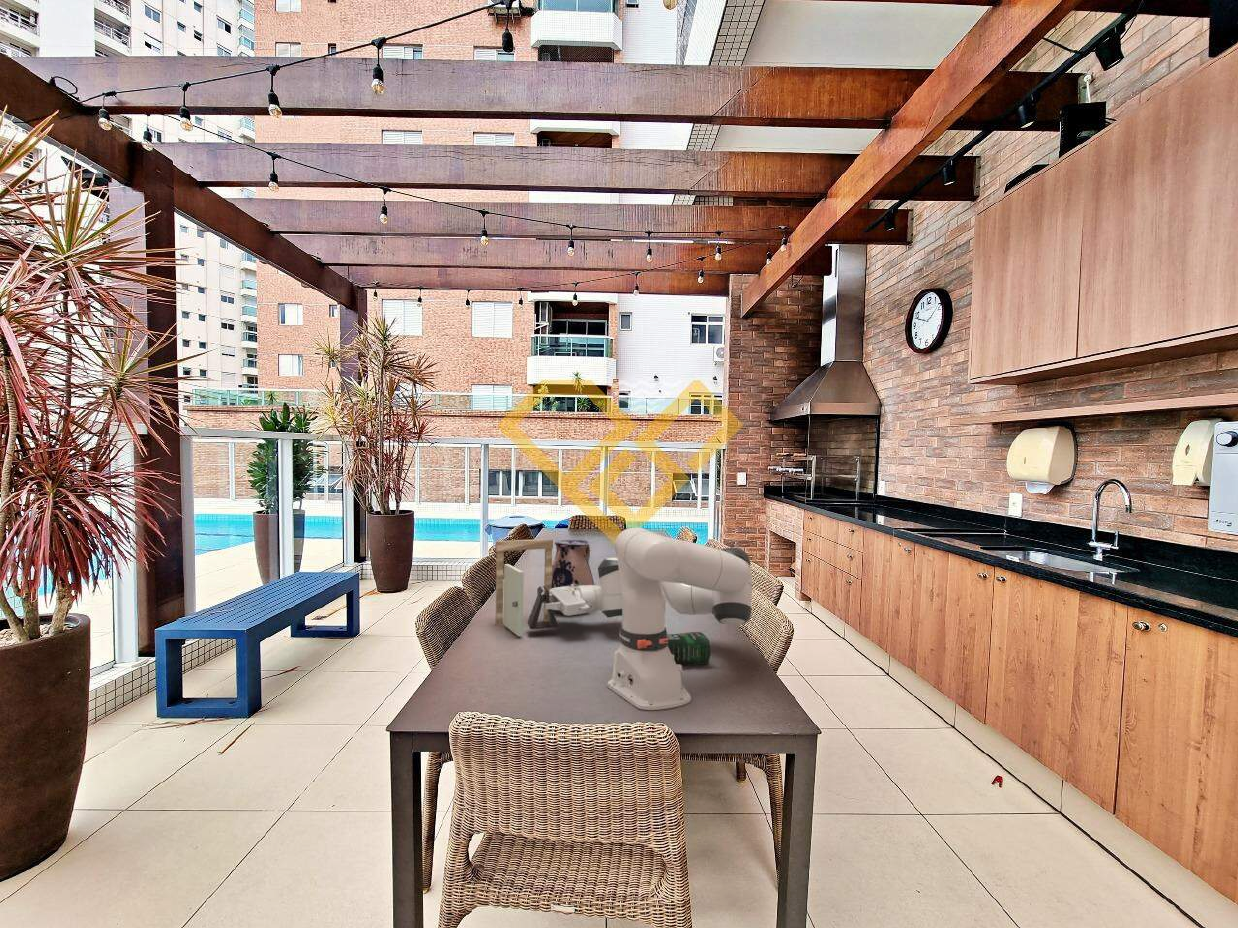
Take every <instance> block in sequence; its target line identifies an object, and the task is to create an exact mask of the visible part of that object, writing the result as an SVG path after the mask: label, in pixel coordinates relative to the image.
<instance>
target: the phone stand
mask: <svg viewBox="0 0 1238 928" xmlns="http://www.w3.org/2000/svg"><path fill="white" fill-rule="evenodd" d="M544 589H545V593H544ZM536 592H537V596H536V598H535V601H534V604H533V605H532V606H533V607H532V609H531V613H530V615H529V617H528V620H527V625H528V627H529V629H530V630H539V629H543V630H544V629H553V628H556V629H557V628H559V624H558V621H557V618H556V615H555V613H554V610H553V609H547V612H548V616H549V621H544V620H542V621H539V617H540V615H541V614H540V613H541V609H542V605H543V604H544V603H543V602H544V601H545V603H548V602H550V601H549V592H548V590H547V589H546V587H545V586H544V585H543V586H538V588H537V591H536Z"/></svg>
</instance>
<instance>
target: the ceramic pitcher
mask: <svg viewBox="0 0 1238 928" xmlns="http://www.w3.org/2000/svg"><path fill="white" fill-rule="evenodd" d="M554 545H555V547H556V552H555V556H554V559H553V560H552V588H556V587H563V586H571V585H572V584H578V585H595V582H594V578H593V573H592V570H591V567H590V555H591V546H590V543H589V541H588V540H587V539H581V540H580V539H578V540H577V539H573V540H572V539H565V540H557V541H555V542H554ZM552 588H551V589H552ZM551 603H552V602H551ZM556 611H558V612H559V613H562V612H561V611H560V610H556Z"/></svg>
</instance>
